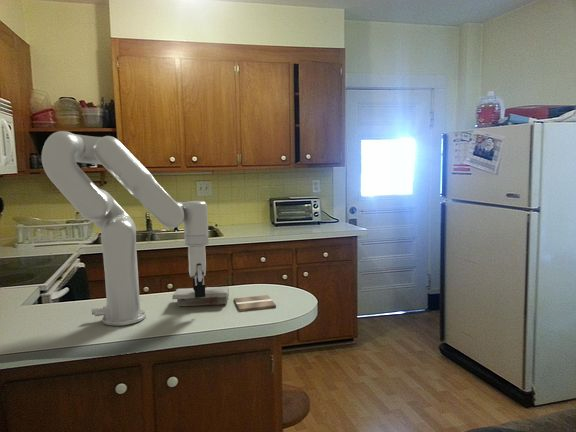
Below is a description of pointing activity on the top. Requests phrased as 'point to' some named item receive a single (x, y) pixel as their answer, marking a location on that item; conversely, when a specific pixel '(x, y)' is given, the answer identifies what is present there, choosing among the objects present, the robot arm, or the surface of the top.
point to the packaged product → (211, 297)
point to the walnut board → (254, 303)
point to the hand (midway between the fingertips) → (199, 293)
